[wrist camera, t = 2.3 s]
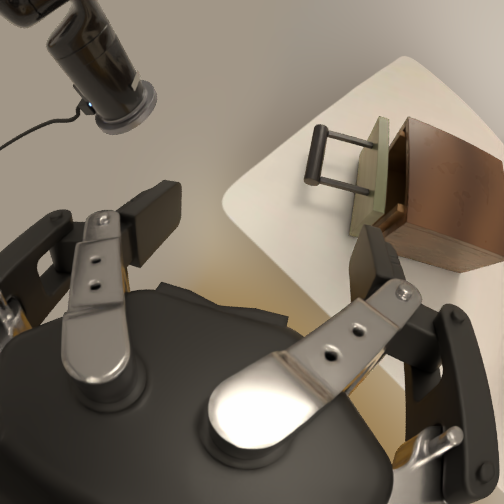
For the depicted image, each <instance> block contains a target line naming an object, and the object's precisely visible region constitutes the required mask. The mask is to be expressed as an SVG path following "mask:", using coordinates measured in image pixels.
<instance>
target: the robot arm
mask: <svg viewBox="0 0 504 504" xmlns="http://www.w3.org/2000/svg"><path fill="white" fill-rule="evenodd" d="M68 1H70V2H71V3H72V5H71V8H70V9H69V11H68V13H67V15H66V16H65V18H64V19H63V20H62V21H61V23H60V24H59V25H58V26H57V27H56V28H55V30H54V31H53V32H52V34H51V35H50V37H49V38H48V40H47V43H46V47H47V50H48V52H49V53H50V55H51V56H52V57H53V58H54V59H55V61H56V62H57V63H58V65H59V66H60V67H61V68H62V70H63V71H64V72H65V73H66V75H67V76H68V77H69V78H70V80H71V81H72V82H73V83H74V84H73V87H74V89H75V90H76V91H77V92H78V93H79V95H80V96H81V97H82V99H81V101H80V103H79V104H78V106H77V108H76V115H75V116H74V117H72V118H69V119H53V120H49V121H47V122H44V123H42V124H40V125H37V126H35V127H33V128H31V129H29V130H27V131H26V132H24V133H22V134H20V135H18V136H17V137H15V138H13V139H12V140H10V141H9V142H7V143H5V144H4V145H2V146H1V147H0V150H2V149H3V148H5V147H6V146H8V145H9V144H11V143H13V142H15V141H16V140H18V139H20V138H21V137H23V136H25V135H27V134H29V133H31V132H33V131H35V130H37V129H39V128H41V127H44V126H46V125H49V124H52V123H67V122H73V121H74V120H76V119H77V118H78V117H79V116H80V109H81V110H82V111H83V112H84V113H85V114H86V115H94V114H96V115H97V117H100V118H101V119H102V120H103V121H104V122H105V123H107V124H117V123H121V122H123V121H125V120H127V119H129V118H131V117H132V116H133V115H135V114H136V113H137V112H138V111H139V110H140V109H141V108H142V106H143V105H144V103H145V102H146V99H147V95H148V93H147V90H146V88H145V86H144V85H143V83H142V82H141V80H140V77H141V75H140V74H139V72H138V71H137V72H136V70H135V69H134V67H133V65H132V63H131V61H130V59H129V58H128V56H127V54H126V52H125V50H124V48H123V46H122V45H121V43H120V41H119V39H118V37H117V35H116V34H115V32H114V30H113V28H112V26H111V24H110V22H109V20H108V19H107V17H106V15H105V13H104V12H103V10H102V8H101V7H100V5H99V3H98V1H97V0H0V15H1V16H2V17H4V18H5V19H6V20H7V21H9V22H10V23H12V24H13V25H15V26H17V27H20V28H29V27H31V26H33V25H35V24H37V23H38V22H40V21H41V20H43V19H44V18H45V17H46V16H48V15H49V14H51V13H52V12H54V11H55V10H56V9H58V8H59V7H61V6H62V5H64V4H65V3H66V2H68ZM181 197H182V187H181V184H180V183H179V182H174V181H167V180H163V181H162V182H160V183H159V184H158V185H156V186H154V187H153V188H151V189H148V190H146V191H143V192H141V193H140V194H138V195H137V196H136V197H134V198H133V199H131V200H130V201H129V202H127V203H126V204H124V205H123V206H122V207H120V208H119V209H118V210H116V211H113V210H102V211H98V212H95V213H93V214H91V215H90V216H88V218H87V219H86V221H85V222H73V219H72V214H71V212H70V211H68V210H57V211H53V212H51V213H49V214H47V215H46V216H44V217H43V218H42V219H40V220H39V221H38V222H36V223H35V224H34V225H33V226H31V227H30V228H29V229H27V230H26V231H25V232H24V233H23V234H21V235H20V236H19V237H18V238H16V239H15V240H14V241H13V242H12V243H11V244H9V245H8V246H7V247H6V248H5V249H3V250H2V251H1V252H0V504H470V503H473V502H475V501H478V500H480V499H483V498H485V497H487V496H489V495H490V494H491V493H492V492H493V490H494V489H495V487H496V485H497V483H498V479H499V452H498V440H497V431H496V424H495V417H494V410H493V405H492V399H491V394H490V389H489V385H488V380H487V376H486V372H485V368H484V364H483V360H482V356H481V353H480V349H479V346H478V343H477V339H476V336H475V333H474V330H473V327H472V324H471V321H470V319H469V317H468V316H467V314H466V313H465V312H464V311H463V310H462V309H460V308H459V307H457V306H455V305H453V304H445V305H443V306H442V308H441V309H440V311H439V312H436V311H434V310H432V309H430V308H428V307H426V306H424V305H423V304H421V302H422V297H421V294H420V292H419V291H418V289H417V288H416V287H415V286H413V285H412V284H411V283H409V282H407V281H406V280H405V276H404V273H403V270H402V267H401V265H400V261H399V259H398V255H397V252H396V250H395V249H394V248H393V246H392V245H391V244H390V243H389V242H385V240H384V237H383V234H382V231H381V229H380V228H377V227H373V226H370V225H366V224H364V225H363V226H362V228H361V230H360V233H359V236H358V239H357V242H356V244H355V247H354V250H353V252H352V255H351V259H350V263H349V277H350V292H351V303H350V304H349V305H348V306H346V307H345V308H344V309H342V310H341V311H340V312H338V313H337V314H336V315H334V316H333V317H332V318H330V319H329V320H327V321H326V322H325V323H323V324H322V325H321V326H319V327H318V328H316V329H315V330H314V331H312V332H311V333H309V334H308V335H306V336H305V337H303V336H302V335H301V334H299V333H298V332H296V331H295V330H293V329H291V328H289V327H287V322H288V316H284V315H280V314H276V313H272V312H268V311H264V310H260V309H256V308H243V307H230V306H220V305H217V304H215V303H213V302H211V301H209V300H207V299H205V298H204V297H202V296H200V295H198V294H196V293H194V292H192V291H190V290H187V289H183V288H180V287H177V286H173V285H170V284H167V283H164V282H161V283H160V284H159V286H158V287H157V288H156V290H136V291H131V292H130V287H129V280H128V271H127V266H128V265H132V266H135V267H139V268H141V267H142V265H143V264H144V263H145V262H146V261H147V260H148V259H149V258H150V256H151V255H152V254H153V253H154V252H155V251H156V250H157V249H158V248H159V246H160V245H161V244H162V243H163V242H164V241H165V240H166V239H167V238H168V237H169V236H170V234H171V233H172V232H173V231H174V230H175V229H176V228H177V227H178V225H179V223H180V219H181ZM48 250H49V251H50V254H51V257H52V261H53V264H52V265H51V266H50V267H49V268H48V270H46V271H45V272H44V273H43V274H42V275H41V276H40V277H39V274H38V271H37V263H38V260H39V259H40V258H41V257H42V256H43V255H44V254H45V253H46V252H47V251H48ZM69 289H70V291H69V302H68V311H67V312H65V313H64V315H63V317H61V318H58V319H55V320H53V321H50V322H47V323H45V324H42V325H40V324H41V323H42V322H43V321H44V319H45V318H46V317H47V316H48V314H49V313H50V312H51V310H52V309H53V308H54V307H55V306H56V304H57V303H58V302H59V301H60V300H61V298H62V297H63V296H64V295H65V294H66V293H67V291H68V290H69ZM386 354H388V355H390V356H392V357H394V358H396V359H398V360H400V361H402V362H404V374H405V396H406V436H405V443H404V444H402V445H401V446H400V447H399V448H398V449H397V451H396V453H395V457H394V460H393V464H391V462H390V459H389V457H388V456H387V454H386V452H385V450H384V449H383V448H382V446H381V445H380V443H379V442H378V440H377V439H376V437H375V436H374V434H373V433H372V431H371V430H370V428H369V427H368V425H367V424H366V423H365V421H364V419H363V418H362V416H361V415H360V414H359V412H358V411H357V409H356V407H355V406H354V404H353V403H352V401H351V400H350V398H349V397H348V396H349V395H350V394H351V393H352V392H353V391H354V390H355V388H356V387H358V385H359V384H360V383H361V382H362V381H363V380H364V379H365V378H366V377H367V375H368V374H369V373H370V372H371V371H372V370H373V369H374V368H375V367H376V366H377V365H378V364H379V362H380V361H381V360H382V359H383V358H384V357H385V355H386ZM441 365H442V366H443V374H442V378H441V376H440V369H439V367H440V366H441Z"/></svg>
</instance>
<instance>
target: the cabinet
mask: <svg viewBox="0 0 504 504" xmlns="http://www.w3.org/2000/svg"><path fill="white" fill-rule="evenodd" d="M400 130H402V131H404V132H406V191H405V208H404V217H402V218H401V219H400V220H399V221H397V222H396V223H395V224H393V225H392V226H391V227H389V228H388V229H387V230H386V231H384V232H383V233H382V234H383V237H384V240H385V242H389V243H390V244H391V245H392V246H393V248H394V249H395V250H396V252H397V255H398V256H401V257H405V258H408V259H412V260H416V261H419V262H423V263H426V264H430V265H433V266H437V267H440V268H444V269H447V270H450V271H454V272H457V273H463V272H467V271H471V270H474V269H478V268H482V267H485V266H489V265H492V264H496V263H499V262H502V261H504V171H503V165H502V161H501V160H499V159H497V158H495V157H494V156H492V155H490V154H488V153H487V152H485V151H483V150H481V149H479V148H477V147H476V146H474V145H472V144H470V143H468V142H466V141H464V140H462V139H460V138H458V137H455V136H453V135H451V134H449V133H447V132H445V131H442V130H440V129H438V128H436V127H433V126H431V125H428V124H426V123H424V122H421V121H419V120H416V119H413V118H411V117H407V119H406V121H405V122H404V124H403V125H402V127H401V129H400ZM400 130H399V131H400ZM397 134H398V133H397ZM394 139H395V138H394ZM392 142H393V141H392ZM390 145H391V144H390Z"/></svg>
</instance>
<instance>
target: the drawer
mask: <svg viewBox="0 0 504 504" xmlns="http://www.w3.org/2000/svg"><path fill="white" fill-rule="evenodd" d="M327 137H329V138H333V139H337V140H341V141H345V142H348V143H352V144H356V145H359V146H363V147H364V148H363V150H362V152H361V154H360V157H359V167H358V176H357V184H356V185H352V184H348V183H345V182H341V181H337V180H333V179H329V178H325V177H320V176H321V171H322V165H323V160H324V154H325V148H326V142H327ZM304 182H305V183H306V184H308V185H311V186H317V185H319V184H323V185H327V186H331V187H335V188H339V189H342V190H346V191H350V192H354V193H355V199H354V206H353V213H352V220H351V226H350V232H349V235H350V236H354V237H357V238H358V236H359V233H360V230H361V228H362V226H363V225H364V224H366V225H370V226H371V225H372V226H373V227H377V228H380V229H381V231H382V233H383V232H384V231H386V230H387V229H388V228H389V227H391V226H392V225H393V224H395V223H396V222H397V221H399V220H400V219H401V218H402V217H404V208H405V191H406V132H404V131H402V130H400V131H399V132H398V134H397V135H396V137H395V139H394V140H393V142H392V143H391V145H390V146H389V119H387V118H384V117H381V116H379V118H378V120H377V122H376V124H375V126H374V128H373V130H372V132H371V134H370V136H369V138H368V140H367V141H366V140H363V139H359V138H356V137H352V136H348V135H345V134H341V133H337V132H333V131H328V128H327V127H326V126H325V125H321V124H318V125H316V126H315V127H314V131H313V136H312V141H311V146H310V151H309V156H308V161H307V166H306V171H305V175H304Z"/></svg>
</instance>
